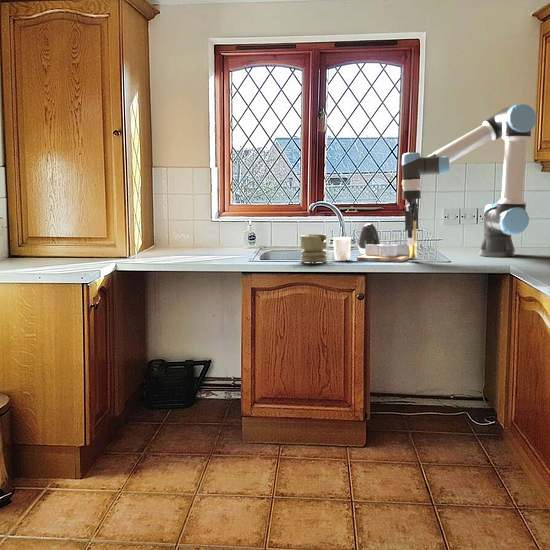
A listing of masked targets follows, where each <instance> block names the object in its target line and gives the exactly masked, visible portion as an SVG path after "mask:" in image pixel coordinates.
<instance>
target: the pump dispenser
mask: <svg viewBox="0 0 550 550" xmlns="http://www.w3.org/2000/svg"><path fill="white" fill-rule="evenodd" d="M366 244H371V245H380V244H381V243H380V238H379V233H378V230H377V228H376V227H375V225H374V224H373V223H371V222H369V223H368V222H367V223H365V224H364V225H363V227H362V228H361V231H360V235H359V239H358V245H357V247H358V251H359V253H360V254H361V255H365V254H366Z"/></svg>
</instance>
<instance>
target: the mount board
mask: <svg viewBox="0 0 550 550" xmlns="http://www.w3.org/2000/svg"><path fill="white" fill-rule="evenodd" d="M358 260H368V261H367V262H386V261H391V263H393V262H395V263H402V262H405V261H406V260H410V258H408V255H400V256H397V257H378V256H366V254H365V255H363V254H361V255H360V256H359V255H358V256H357V257H356V261H358Z"/></svg>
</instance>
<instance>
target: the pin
mask: <svg viewBox="0 0 550 550" xmlns="http://www.w3.org/2000/svg"><path fill="white" fill-rule="evenodd" d="M413 230H414V246H408V258H409V259H417V255H418V253H417V252H418V251H417V245H416V220H413Z"/></svg>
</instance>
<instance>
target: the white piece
mask: <svg viewBox="0 0 550 550" xmlns="http://www.w3.org/2000/svg"><path fill="white" fill-rule="evenodd" d="M400 255H408V246H407V243H398V244H397V243H382V244H381V243H380V245H371V244H366V256H378V257H397V256H400Z"/></svg>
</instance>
